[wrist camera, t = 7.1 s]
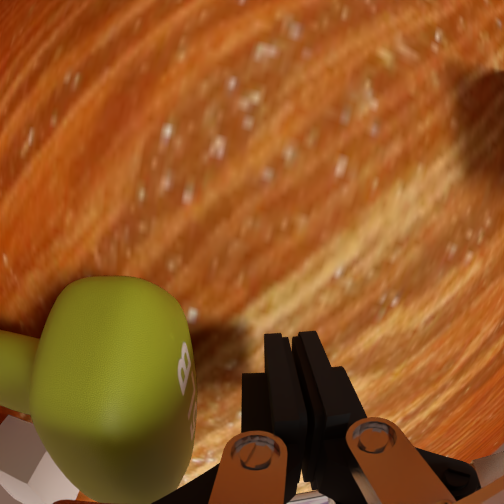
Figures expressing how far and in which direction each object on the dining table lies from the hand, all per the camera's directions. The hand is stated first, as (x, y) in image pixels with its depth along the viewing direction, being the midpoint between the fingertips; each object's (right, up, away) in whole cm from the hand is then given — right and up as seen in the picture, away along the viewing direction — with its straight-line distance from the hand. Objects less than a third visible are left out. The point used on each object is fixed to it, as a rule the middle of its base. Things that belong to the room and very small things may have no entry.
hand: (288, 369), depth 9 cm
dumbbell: (-11, 0, +2) cm, 12 cm away
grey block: (-16, -10, +4) cm, 19 cm away
